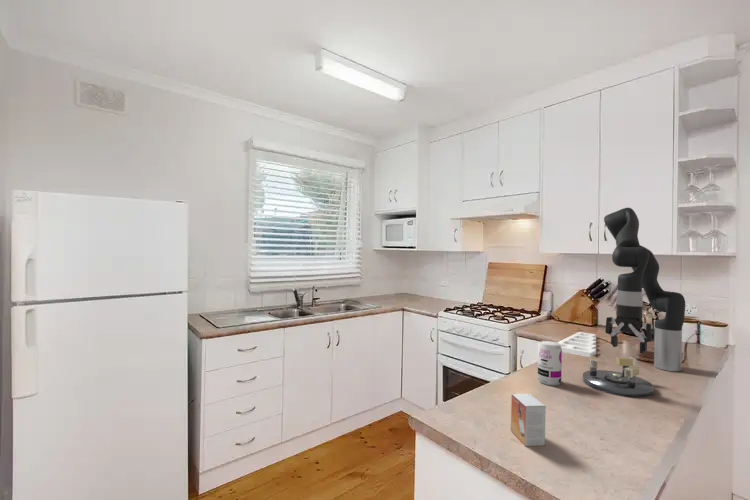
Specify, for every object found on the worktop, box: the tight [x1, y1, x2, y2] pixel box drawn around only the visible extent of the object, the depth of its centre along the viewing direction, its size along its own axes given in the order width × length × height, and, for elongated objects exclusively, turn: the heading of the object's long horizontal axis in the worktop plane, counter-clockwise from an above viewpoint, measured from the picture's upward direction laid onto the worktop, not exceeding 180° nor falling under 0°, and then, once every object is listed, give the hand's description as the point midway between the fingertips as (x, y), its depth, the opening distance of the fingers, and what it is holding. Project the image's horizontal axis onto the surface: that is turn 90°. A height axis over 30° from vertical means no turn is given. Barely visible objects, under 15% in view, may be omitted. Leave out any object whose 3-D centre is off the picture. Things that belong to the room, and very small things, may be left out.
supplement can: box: [537, 340, 563, 387], centre depth 138 cm, size 8×8×15 cm
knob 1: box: [589, 355, 598, 376], centre depth 139 cm, size 6×2×7 cm, turn 152°
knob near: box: [615, 356, 637, 375], centre depth 140 cm, size 6×2×7 cm, turn 90°
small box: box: [510, 393, 547, 447], centre depth 97 cm, size 8×6×10 cm
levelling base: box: [582, 369, 654, 398], centre depth 136 cm, size 22×22×4 cm
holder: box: [556, 331, 597, 358], centre depth 193 cm, size 45×18×3 cm, turn 134°
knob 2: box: [624, 365, 640, 388], centre depth 128 cm, size 6×2×7 cm, turn 122°
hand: (628, 349), depth 127 cm, fingers open, 8 cm apart
